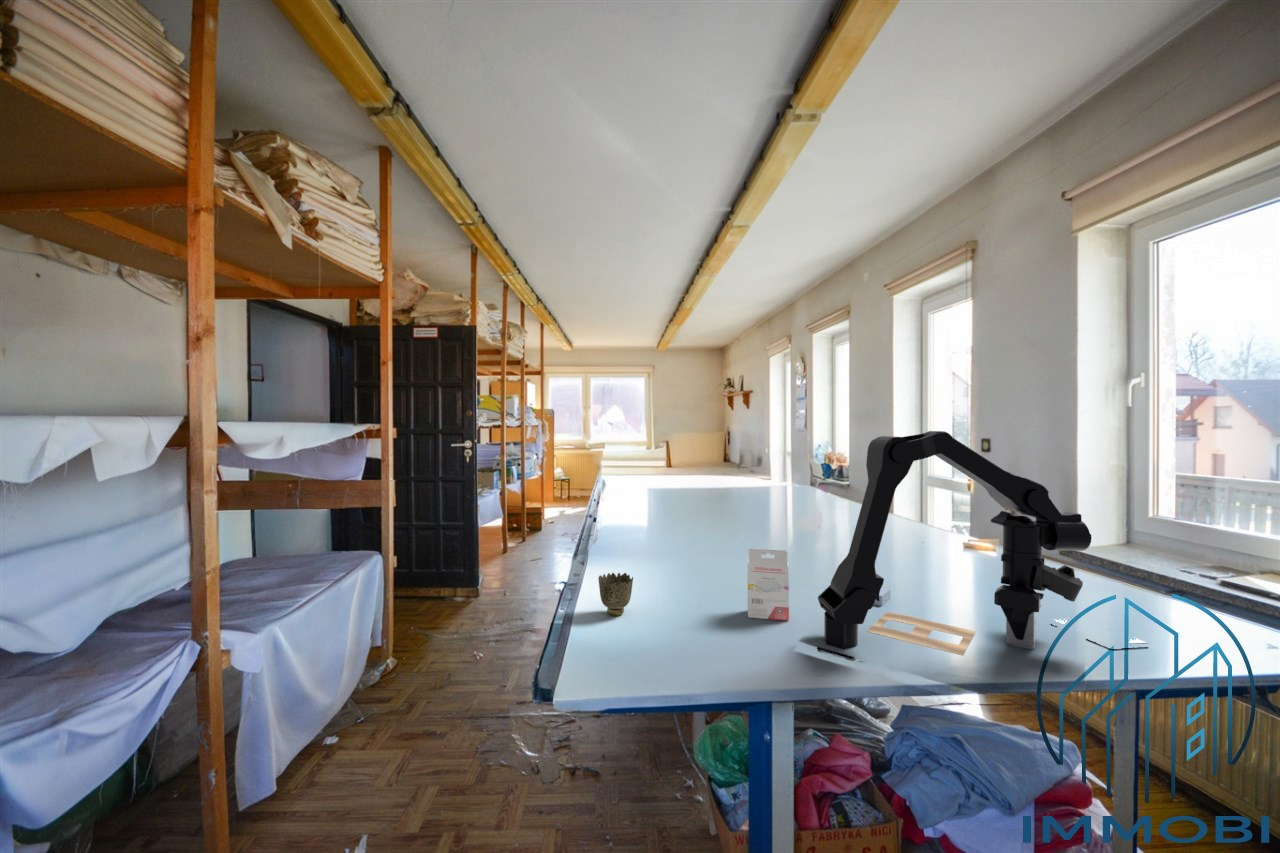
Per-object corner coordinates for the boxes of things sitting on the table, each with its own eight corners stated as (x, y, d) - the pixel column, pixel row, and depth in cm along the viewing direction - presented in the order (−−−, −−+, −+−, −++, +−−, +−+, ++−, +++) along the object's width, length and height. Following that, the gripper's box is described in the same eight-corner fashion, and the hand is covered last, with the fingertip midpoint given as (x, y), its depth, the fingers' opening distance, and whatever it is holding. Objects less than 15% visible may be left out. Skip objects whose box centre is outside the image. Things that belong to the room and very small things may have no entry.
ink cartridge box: (788, 613, 115) (788, 545, 115) (789, 621, 110) (789, 550, 110) (747, 609, 117) (748, 543, 117) (747, 617, 112) (747, 548, 112)
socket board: (962, 663, 91) (963, 655, 91) (866, 639, 101) (866, 631, 101) (976, 639, 102) (976, 631, 102) (887, 618, 112) (887, 611, 112)
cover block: (882, 614, 115) (882, 596, 115) (844, 605, 121) (845, 588, 121) (890, 607, 120) (890, 589, 120) (854, 599, 125) (854, 582, 125)
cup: (637, 617, 112) (638, 579, 112) (604, 622, 109) (604, 583, 109) (625, 606, 119) (626, 570, 119) (594, 610, 116) (594, 573, 116)
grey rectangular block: (1033, 653, 94) (1034, 608, 94) (1006, 647, 96) (1006, 603, 96) (1035, 646, 97) (1035, 602, 97) (1008, 640, 99) (1009, 597, 99)
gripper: (1078, 568, 84) (1077, 666, 84) (1080, 548, 98) (1079, 632, 98) (994, 556, 91) (993, 647, 91) (1007, 539, 105) (1006, 617, 106)
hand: (1020, 635), depth 96 cm, fingers closed on grey rectangular block, 4 cm apart
